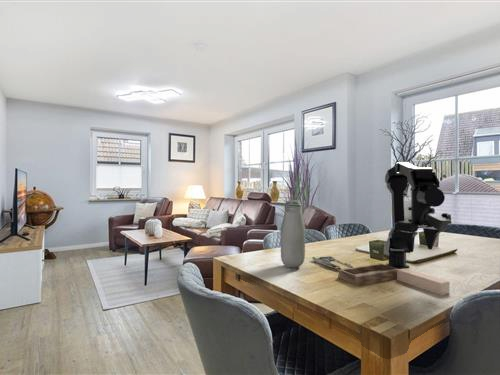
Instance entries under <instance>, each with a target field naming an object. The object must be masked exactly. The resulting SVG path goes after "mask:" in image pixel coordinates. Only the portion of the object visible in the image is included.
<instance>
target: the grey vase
mask: <svg viewBox="0 0 500 375" xmlns="http://www.w3.org/2000/svg"><path fill="white" fill-rule="evenodd" d="M284 203H285V204H284V208H283V209H284V212H283V219H282V221H281V224H280V259H281V262H282V264H283V265H284V266H285V267H287V268H290V269H292V268H293V269H295V268H299V267H301V266H302V265H303V264H304V262H305V257H306V226H305V221H304V218H303V205H302V203H301V201H300V200H296V199H293V200H292V199H290V200H288V201H286V202H284Z"/></svg>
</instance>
